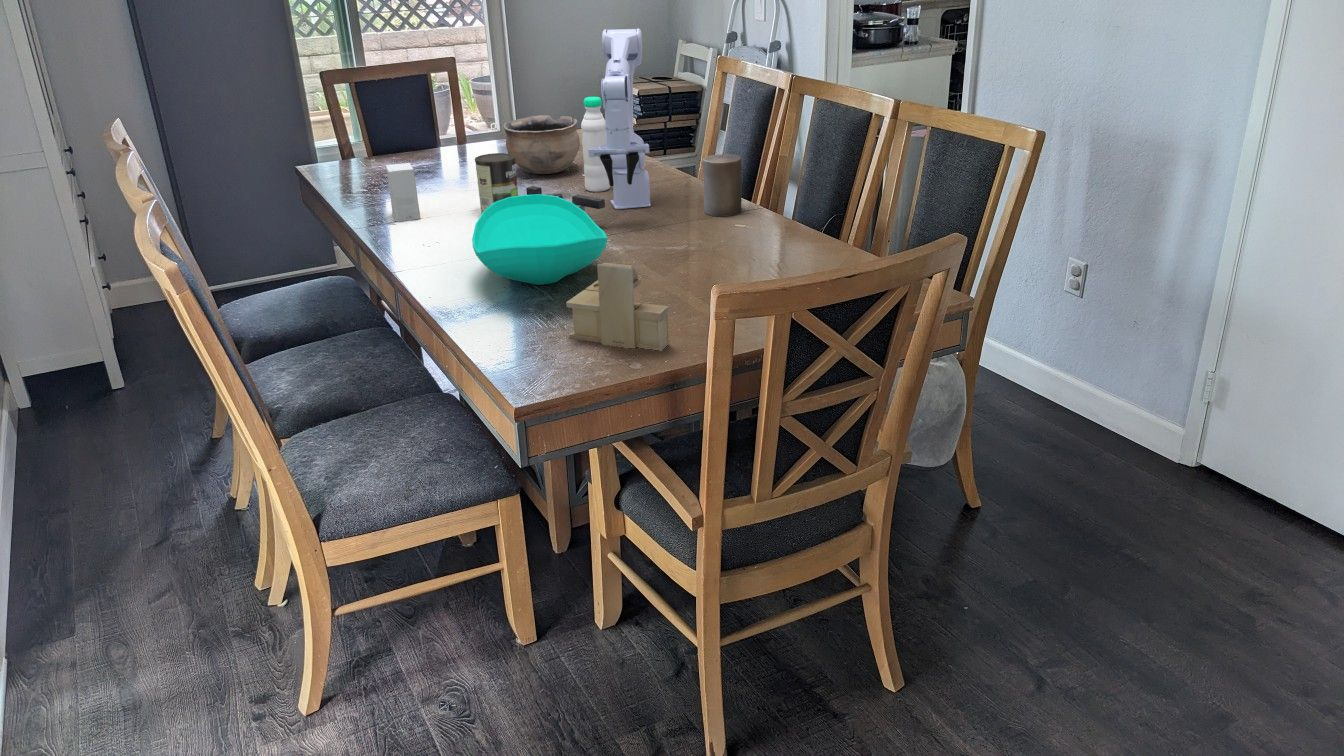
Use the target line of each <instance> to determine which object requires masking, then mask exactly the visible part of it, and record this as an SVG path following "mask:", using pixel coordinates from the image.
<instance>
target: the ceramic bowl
mask: <svg viewBox="0 0 1344 756" xmlns="http://www.w3.org/2000/svg"><path fill="white" fill-rule="evenodd" d="M577 119H578V118H573V117H571V116H568V115H567V116H565V115H562V116H560V117H559V118H558V120H556V119H553V118H552V117H551V116H550V115H532V116H528V117H527V116H526V117H523V118H520V119H513V120H510V121H507V122H504V124H503V125H502V126H503V129H504V132H505V135H506V136H505V137H506V138H505V149H506V151H507V154H512V155H515V164H516V166H518V167H519V168H520V169H521V170H523V171H524V172H526V173H527V174H534V175H550V174H557V173H561V172H563V171H565V170H567V169H568V168H569V167H570V166H571V165H572V163H573V162H574V161H575V158H576V157H577V154H578V152H579V151H580V145H581V143H580V142H581V141H580V136H579V133H578V131H577V126H578V120H577Z"/></svg>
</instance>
